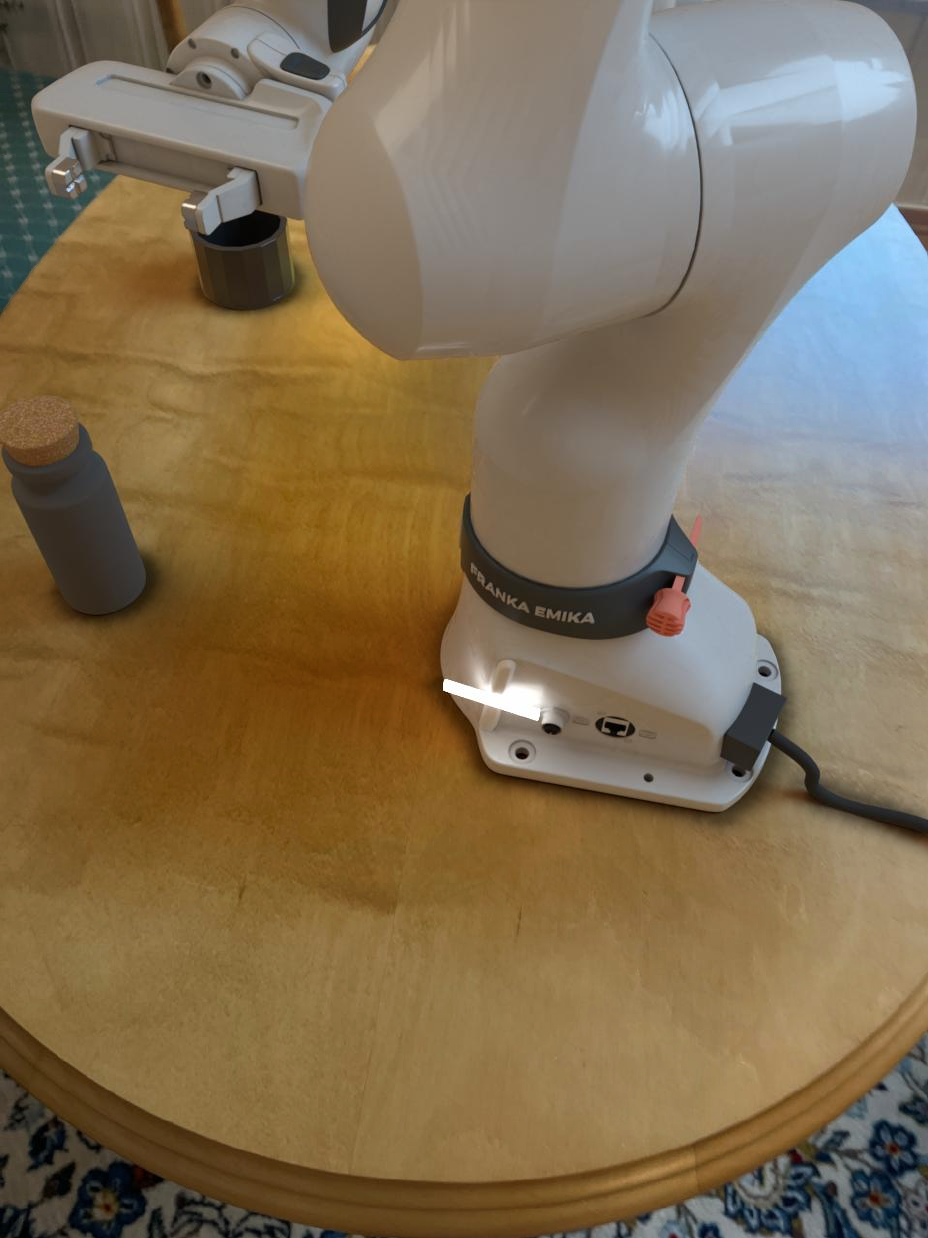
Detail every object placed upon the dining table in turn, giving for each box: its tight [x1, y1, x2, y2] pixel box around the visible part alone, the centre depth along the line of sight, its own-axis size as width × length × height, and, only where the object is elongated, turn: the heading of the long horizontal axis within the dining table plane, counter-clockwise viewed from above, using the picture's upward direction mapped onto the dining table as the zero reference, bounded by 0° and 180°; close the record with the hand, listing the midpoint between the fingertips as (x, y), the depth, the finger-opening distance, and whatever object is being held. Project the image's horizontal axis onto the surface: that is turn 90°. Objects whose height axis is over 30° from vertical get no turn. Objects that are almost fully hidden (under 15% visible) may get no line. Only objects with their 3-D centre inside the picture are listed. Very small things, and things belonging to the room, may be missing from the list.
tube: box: [188, 209, 296, 311], centre depth 89 cm, size 9×9×6 cm
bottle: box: [0, 394, 147, 616], centre depth 63 cm, size 6×6×15 cm
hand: (124, 203), depth 58 cm, fingers open, 8 cm apart
